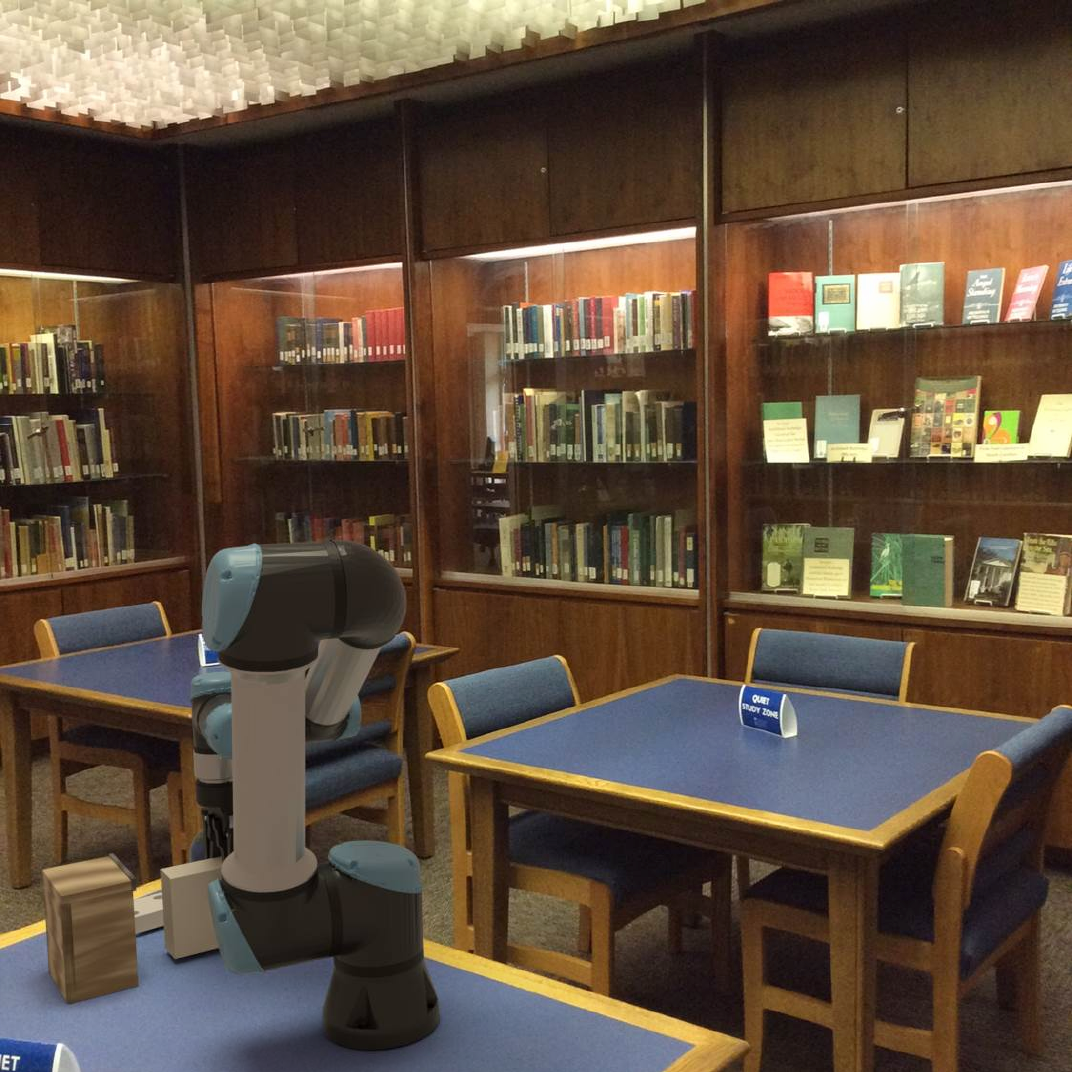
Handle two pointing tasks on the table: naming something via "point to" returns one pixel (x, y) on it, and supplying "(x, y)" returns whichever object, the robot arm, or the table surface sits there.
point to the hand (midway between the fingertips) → (228, 926)
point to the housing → (90, 927)
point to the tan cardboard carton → (189, 907)
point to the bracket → (148, 912)
